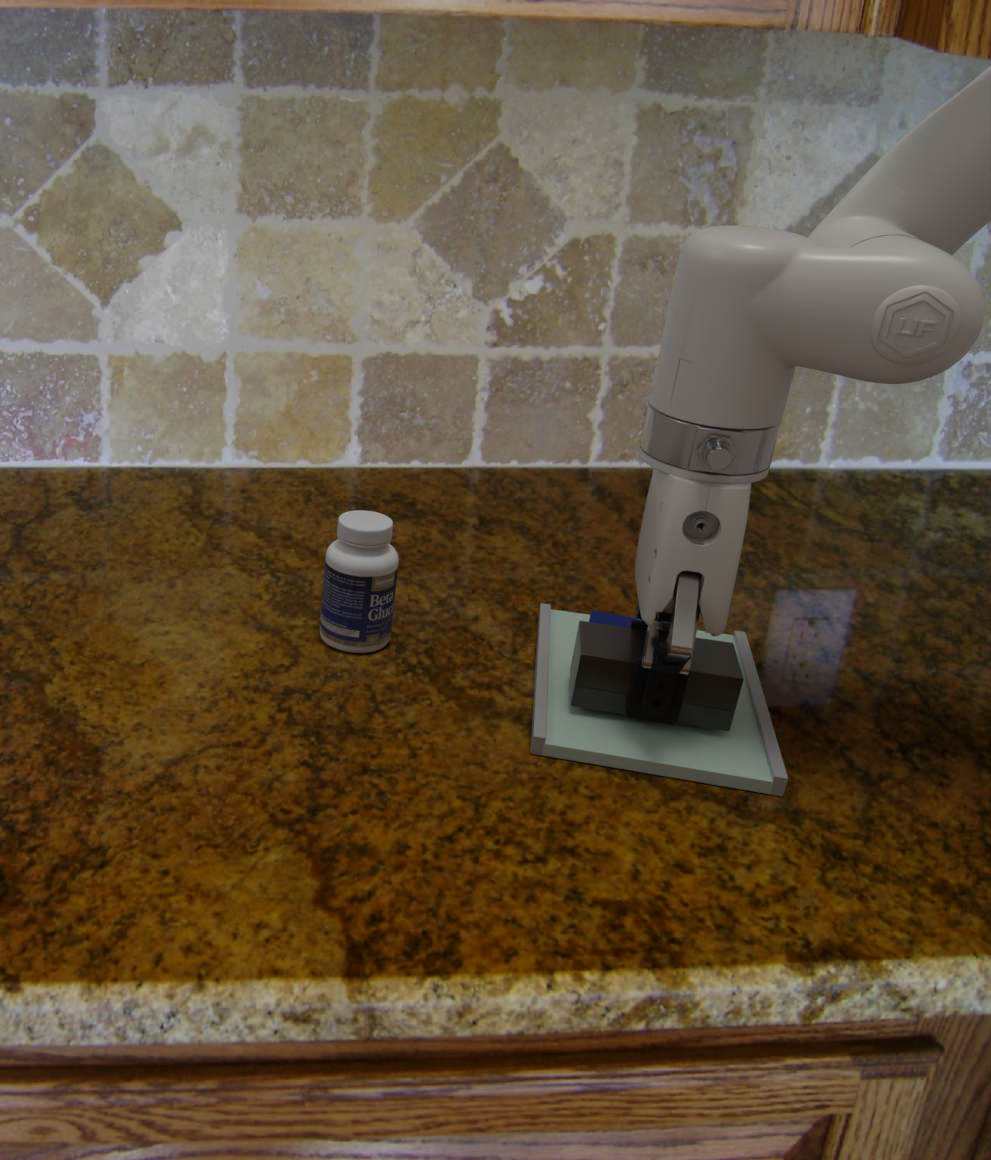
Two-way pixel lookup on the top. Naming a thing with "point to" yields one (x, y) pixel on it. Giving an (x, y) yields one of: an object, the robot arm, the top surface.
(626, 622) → the smudge
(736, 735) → the board
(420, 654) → the top surface
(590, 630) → the eraser
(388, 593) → the pill bottle
